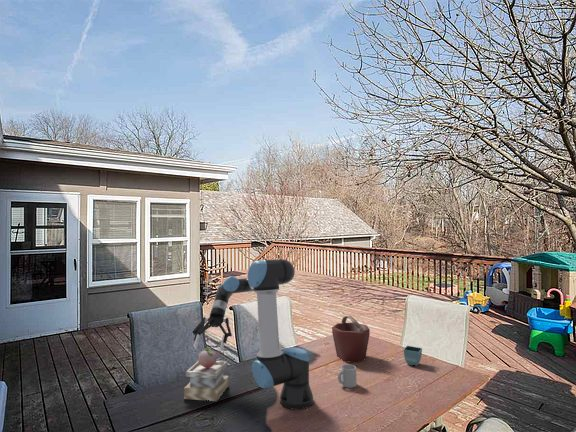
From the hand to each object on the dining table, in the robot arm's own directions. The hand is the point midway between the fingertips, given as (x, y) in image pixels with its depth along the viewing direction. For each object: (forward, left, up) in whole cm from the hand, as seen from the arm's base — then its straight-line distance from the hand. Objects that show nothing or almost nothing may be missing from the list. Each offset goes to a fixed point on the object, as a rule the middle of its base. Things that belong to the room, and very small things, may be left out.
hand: (207, 348), depth 169 cm
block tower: (0, +2, -20) cm, 20 cm away
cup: (-67, -15, -20) cm, 72 cm away
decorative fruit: (0, +2, -9) cm, 10 cm away
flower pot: (-106, -49, -20) cm, 119 cm away
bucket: (-70, -55, -20) cm, 92 cm away
